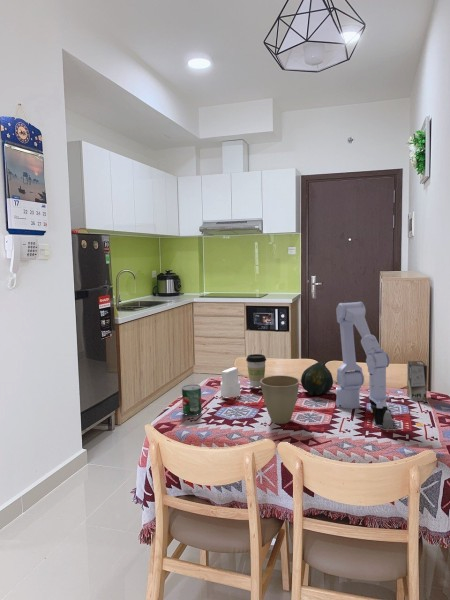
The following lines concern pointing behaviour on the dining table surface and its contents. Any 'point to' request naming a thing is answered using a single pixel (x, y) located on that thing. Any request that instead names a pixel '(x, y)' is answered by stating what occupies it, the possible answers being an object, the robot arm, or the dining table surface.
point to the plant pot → (280, 397)
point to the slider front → (387, 420)
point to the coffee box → (416, 380)
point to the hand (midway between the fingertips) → (377, 420)
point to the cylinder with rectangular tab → (230, 383)
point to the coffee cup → (256, 368)
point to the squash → (317, 379)
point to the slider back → (385, 405)
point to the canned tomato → (191, 399)
